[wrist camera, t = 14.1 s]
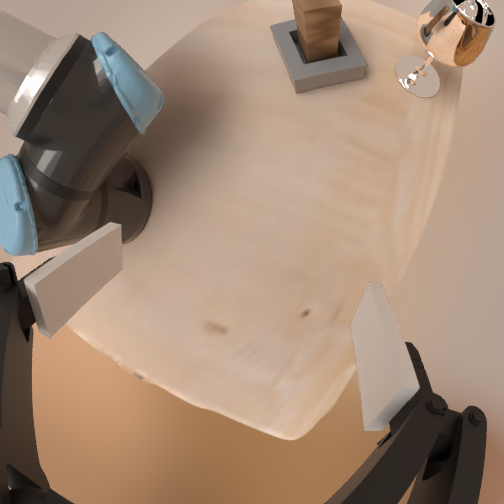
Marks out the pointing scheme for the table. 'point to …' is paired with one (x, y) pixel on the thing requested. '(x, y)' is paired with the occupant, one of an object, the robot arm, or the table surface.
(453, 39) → the wineglass
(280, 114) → the table surface
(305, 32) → the wooden block
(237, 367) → the table surface
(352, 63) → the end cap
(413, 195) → the table surface
